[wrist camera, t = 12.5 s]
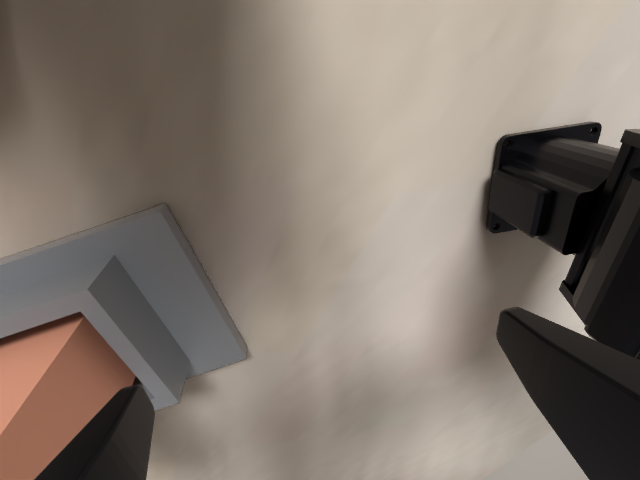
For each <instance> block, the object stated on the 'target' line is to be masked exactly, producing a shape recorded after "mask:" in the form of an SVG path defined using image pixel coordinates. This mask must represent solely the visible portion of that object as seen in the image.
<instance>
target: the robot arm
mask: <svg viewBox="0 0 640 480" xmlns="http://www.w3.org/2000/svg"><path fill="white" fill-rule="evenodd" d="M601 128H602V127H601V124H600V123H596V122H586V123H579V124H573V125H566V126H560V127H553V128H547V129H540V130H534V131H527V132H521V133H514V134H508V135H504V136H503V137H501V138H500V140H499V141H498V145H497V152H496V159H495V166H494V173H493V176H492V183H491V190H490V197H489V204H488V217H487V224H486V228H487V230H489V231H490V232H492V233H500V232H506V231H511V230H517V229H519V230H520V231H522V232H524V233H525V234H527V235H528V236H530V237H532V238H534V237H536V238H538V239H539V240H541V241H542V242H544V243H546V244H547V245H549V246H550V247H552V248H554V249H555V250H557V251H558V252H560V253H562V254H563V255H568V254H573V255H575V257H574V260H573V262H572V265H571V267H570V269H569V272H568V274H567V277H566V279H565V280H563V281H562V283H561V286H560V288H559V290H560V292H561V293H562V294H563V296H564V297H565V298H566V300H567V301H568V302H569V304H570V305H571V306H572V308H573V309H574V311H575V312H576V313H577V315H578V316H579V317H580V319H581V320H582V321H583V323H584V324H585V325H586V326H585V328H584V330H585V331H586V332H587V334H588V335H589V336H590V337H591V338H592V339H591V338H588V337H586V336H584V335H581V334H579V333H577V332H575V331H572V330H570V329H568V328H565V327H563V326H561V325H558V324H556V323H554V322H552V321H549V320H547V319H545V318H542V317H540V316H538V315H536V314H533V313H531V312H529V311H526V310H524V309H522V308H519V307H514V308H509V309H504V310H502V311H501V312H500V315H499V321H498V326H497V332H496V335H497V340H498V342H499V344H500V346H501V348H502V349H503V351H504V353H505V355H506V356H507V358H508V360H509V361H510V363H511V365H512V367H513V368H514V370H515V372H516V373H517V375H518V377H519V379H520V380H521V382H522V384H523V385H524V387H525V389H526V390H527V392H528V394H529V395H530V397H531V398H532V400H533V401H534V403H535V404H536V406H537V407H538V409H539V410H540V411H541V413H542V414H543V416H544V417H545V418H546V420H547V421H548V423H549V424H550V425H551V427H552V428H553V430H554V431H555V432H556V434H557V435H558V437H559V438H560V439H561V441H562V442H563V444H564V445H565V446H566V448H567V449H568V450H569V452H570V453H571V455H572V456H573V457H574V459H575V460H576V462H577V463H578V464H579V466H580V467H581V469H582V470H583V471H584V473H585V474H586V476H587V477H588V478H589V480H640V129H625V131H624V134H623V136H622V138H621V141H620V142H622V145H621V148H620V149H618V148H614V147H610V146H605V145H601V144H598V140H599V136H600V133H601ZM591 129H592V131H591ZM590 131H591V132H590ZM508 141H509V145H508V146H507V147H506V143H507V142H508ZM495 224H496V226H495V227H493V226H494V225H495ZM593 339H594V340H593ZM154 416H155V411H154V406H153V404H152V402H151V401H150V399H149V397H148V395H147V393H146V391H145V390H144V388H143V387H142V386H141V385H133V386H128V387H124V388H122V389H120V390H119V391H118V392H117V393H116V394H115V395H114V396H113V397H112V398H111V399H110V400H109V401H108V402H107V403H106V404H105V405H104V407H103V408H102V409H101V410H100V411H99V412H98V413H97V414H96V415H95V416H94V417H93V418H92V419H91V420H90V421H89V422H88V423H87V424H86V425H85V426H84V428H83V429H82V430H81V431H80V432H79V433H78V434H77V435H76V436H75V437H74V438H73V439H72V440H71V441H70V442H69V443H68V444H67V445H66V446H65V447H64V449H63V450H62V451H61V452H60V453H59V454H58V455H57V456H56V457H55V458H54V459H53V460H52V461H51V462H50V463H49V464H48V465H47V466H46V467H45V468H44V470H43V471H42V472H41V473H40V474H39V475H38V476H37V477H36V478H35V479H34V480H146V476H147V469H148V462H149V454H150V447H151V439H152V432H153V424H154Z"/></svg>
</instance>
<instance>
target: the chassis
mask: <svg viewBox="0 0 640 480" xmlns="http://www.w3.org/2000/svg"><path fill="white" fill-rule="evenodd" d="M80 311H81V313H82V314H83V315H84V316H85V317H86V318H87V320H88V321H89V322H90V323H91V324H92V325H93V327H94V328H95V329H96V330H97V331H98V332H99V333H100V335H101V336H102V337H103V338H104V339H105V340H106V342H107V343H108V344H109V345H110V346H111V347H112V349H113V350H114V351H115V352H116V353H117V354H118V356H119V357H120V358H121V359H122V360H123V361H124V363H125V364H126V365H127V366H128V367H129V368H130V369H131V371H132V372H133V373H134V374H135V375H136V377H135V379H134V382H133V384H132V386H133V385H141V386H142V387H143V388H144V390H145V391H146V393H147V395H148V397H149V399H150V401H151V402H152V404H153V406H154V411H157V410H160V409H163V408H166V407H169V406H172V405H175V404H178V403H180V399H181V395H182V391H183V387H184V383H185V379H187V378H190V377H193V376H196V375H199V374H202V373H205V372H208V371H211V370H214V369H217V368H220V367H223V366H226V365H229V364H232V363H235V362H238V361H241V360H244V359H247V345H246V343H245V341H244V340H243V338H242V336H241V334H240V333H239V331H238V329H237V327H236V326H235V324H234V322H233V320H232V319H231V317H230V315H229V313H228V312H227V310H226V308H225V306H224V305H223V303H222V301H221V299H220V298H219V296H218V294H217V292H216V291H215V289H214V287H213V285H212V284H211V282H210V280H209V278H208V277H207V275H206V273H205V271H204V270H203V268H202V266H201V264H200V262H199V261H198V259H197V257H196V255H195V254H194V252H193V250H192V248H191V247H190V245H189V243H188V241H187V240H186V238H185V236H184V234H183V233H182V231H181V229H180V227H179V226H178V224H177V222H176V220H175V219H174V217H173V215H172V213H171V212H170V210H169V208H168V206H167V205H166V203H165V204H162V205H159V206H156V207H153V208H150V209H147V210H144V211H141V212H138V213H135V214H132V215H129V216H126V217H123V218H120V219H117V220H114V221H111V222H108V223H105V224H102V225H99V226H96V227H93V228H91V229H88V230H85V231H82V232H79V233H76V234H73V235H70V236H67V237H64V238H61V239H58V240H55V241H52V242H49V243H46V244H43V245H40V246H37V247H34V248H31V249H28V250H25V251H22V252H19V253H17V254H14V255H11V256H8V257H5V258H2V259H0V341H1V340H2V339H3V338H4V337H6V336H9V335H12V334H15V333H18V332H21V331H24V330H27V329H30V328H33V327H36V326H39V325H42V324H45V323H48V322H51V321H53V320H56V319H59V318H62V317H65V316H68V315H71V314H74V313H77V312H80Z"/></svg>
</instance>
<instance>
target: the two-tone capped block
mask: <svg viewBox="0 0 640 480" xmlns="http://www.w3.org/2000/svg"><path fill="white" fill-rule="evenodd" d="M135 377H136V375H135V374H134V373H133V372H132V371H131V369H130V368H129V367H128V366H127V365H126V364H125V363H124V361H123V360H122V359H121V358H120V357H119V356H118V354H117V353H116V352H115V351H114V350H113V349H112V347H111V346H110V345H109V344H108V343H107V342H106V340H105V339H104V338H103V337H102V336H101V335H100V333H99V332H98V331H97V330H96V329H95V328H94V327H93V325H92V324H91V323H90V322H89V321H88V320H87V318H86V317H85V316H84V315H83V314H82V313H81V311H80V312H77V313H74V314H71V315H68V316H65V317H62V318H59V319H56V320H53V321H51V322H48V323H45V324H42V325H39V326H36V327H33V328H30V329H27V330H24V331H21V332H18V333H15V334H12V335H9V336H6V337H4V338H3V339H2V340H1V341H0V480H34V479H35V478H36V477H37V476H38V475H39V474H40V473H41V472H42V471H43V470H44V468H45V467H46V466H47V465H48V464H49V463H50V462H51V461H52V460H53V459H54V458H55V457H56V456H57V455H58V454H59V453H60V452H61V451H62V450H63V449H64V447H65V446H66V445H67V444H68V443H69V442H70V441H71V440H72V439H73V438H74V437H75V436H76V435H77V434H78V433H79V432H80V431H81V430H82V429H83V428H84V426H85V425H86V424H87V423H88V422H89V421H90V420H91V419H92V418H93V417H94V416H95V415H96V414H97V413H98V412H99V411H100V410H101V409H102V408H103V407H104V405H105V404H106V403H107V402H108V401H109V400H110V399H111V398H112V397H113V396H114V395H115V394H116V393H117V392H118V391H119V390H120V389H122V388H124V387H128V386H132V384H133V382H134V379H135Z"/></svg>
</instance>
